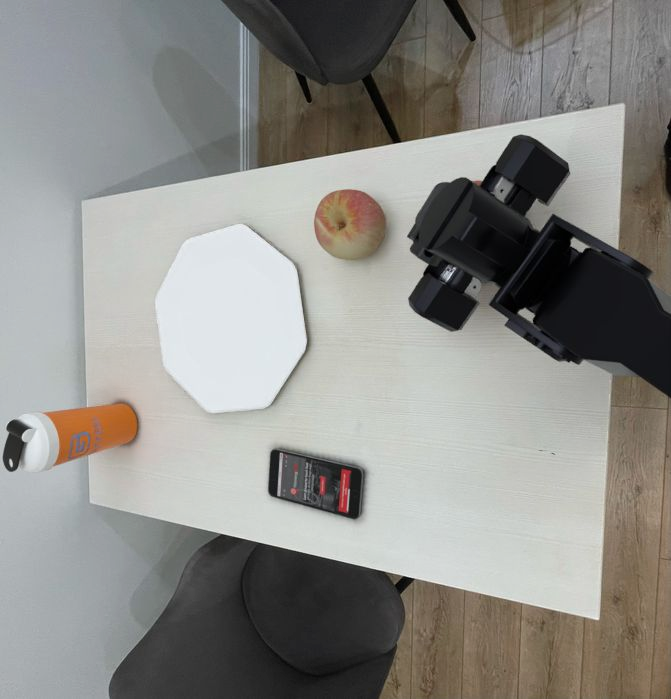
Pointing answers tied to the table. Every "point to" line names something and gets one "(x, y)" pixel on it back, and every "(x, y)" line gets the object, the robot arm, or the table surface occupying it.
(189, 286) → the plate
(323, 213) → the apple
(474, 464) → the table surface
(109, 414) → the shaker bottle
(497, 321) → the table surface
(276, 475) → the smartphone
